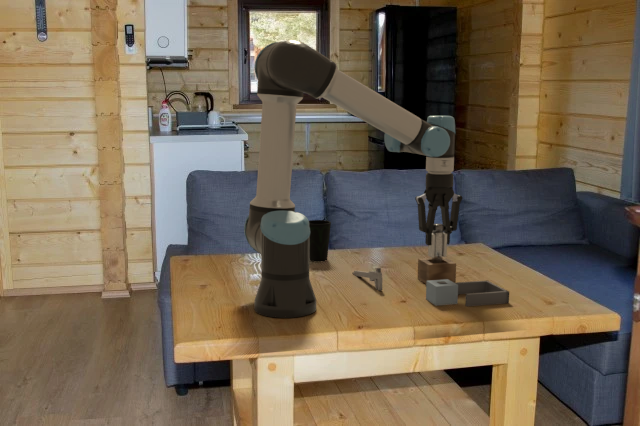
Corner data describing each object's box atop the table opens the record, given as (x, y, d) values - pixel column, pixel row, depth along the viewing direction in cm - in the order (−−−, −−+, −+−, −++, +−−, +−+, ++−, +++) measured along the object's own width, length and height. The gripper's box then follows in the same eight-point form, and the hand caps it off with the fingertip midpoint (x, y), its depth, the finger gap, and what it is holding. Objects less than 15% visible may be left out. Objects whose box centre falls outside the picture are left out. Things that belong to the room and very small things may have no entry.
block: (435, 306, 191) (436, 286, 191) (425, 299, 197) (426, 280, 196) (457, 304, 193) (458, 284, 192) (447, 297, 199) (448, 278, 198)
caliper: (382, 292, 205) (382, 269, 203) (378, 292, 204) (379, 269, 203) (355, 274, 224) (355, 253, 223) (352, 274, 223) (352, 253, 222)
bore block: (428, 286, 210) (429, 265, 209) (417, 279, 218) (418, 258, 217) (455, 284, 212) (456, 263, 211) (443, 277, 220) (444, 257, 219)
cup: (335, 258, 242) (335, 221, 240) (322, 263, 235) (322, 225, 233) (314, 255, 246) (314, 219, 244) (301, 260, 239) (301, 222, 237)
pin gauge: (433, 278, 213) (435, 225, 210) (429, 276, 216) (430, 223, 213) (443, 278, 214) (445, 225, 211) (439, 275, 217) (440, 223, 214)
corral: (466, 306, 191) (467, 294, 190) (447, 294, 202) (447, 283, 201) (508, 303, 194) (509, 291, 193) (487, 291, 205) (487, 280, 204)
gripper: (417, 174, 204) (415, 260, 208) (472, 173, 208) (469, 257, 212) (407, 171, 211) (405, 254, 215) (460, 170, 216) (457, 251, 219)
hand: (437, 256), depth 214 cm, fingers closed on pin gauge, 3 cm apart
